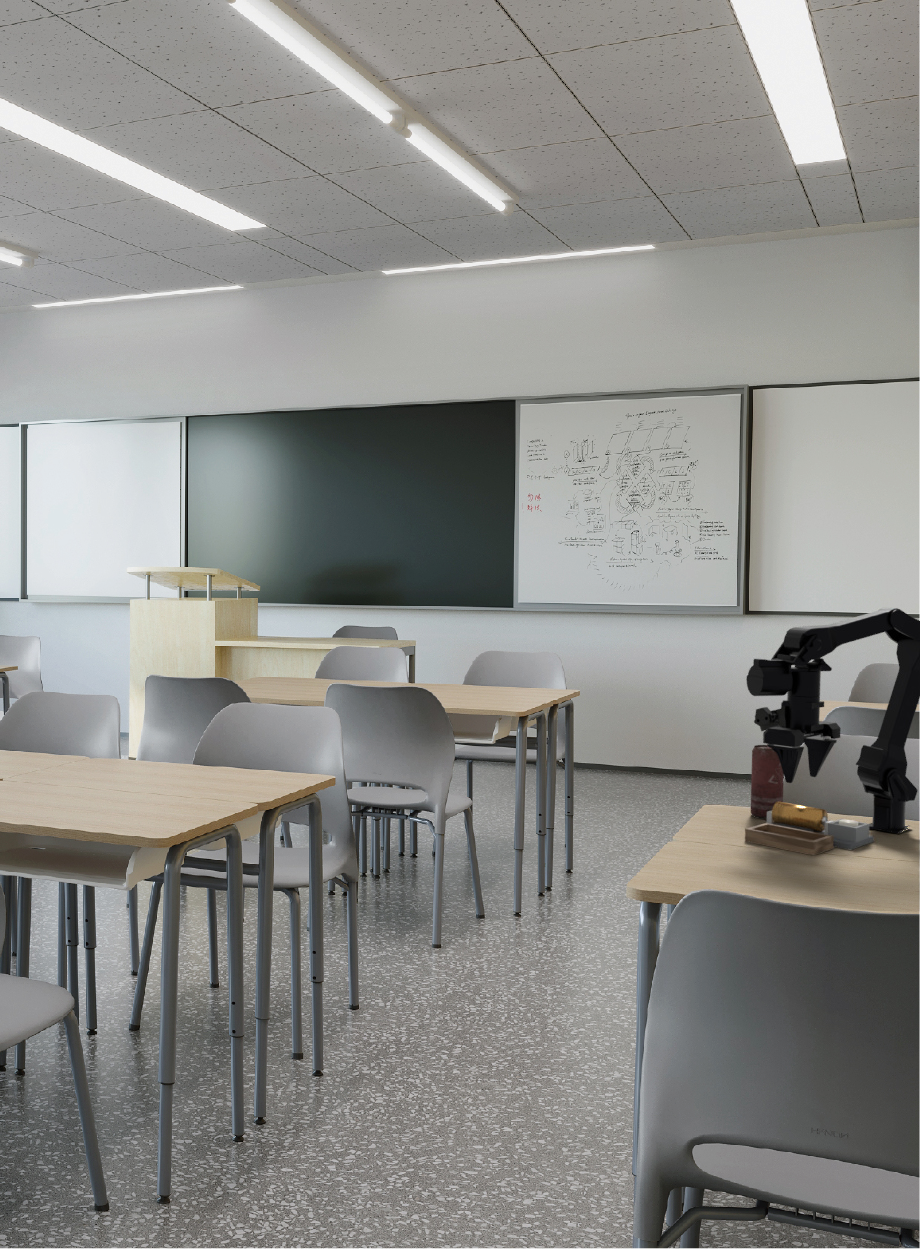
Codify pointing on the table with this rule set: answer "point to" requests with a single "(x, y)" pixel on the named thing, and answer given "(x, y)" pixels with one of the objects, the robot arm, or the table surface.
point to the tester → (838, 832)
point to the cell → (799, 815)
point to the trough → (789, 838)
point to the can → (765, 781)
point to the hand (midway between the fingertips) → (801, 779)
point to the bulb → (848, 823)
